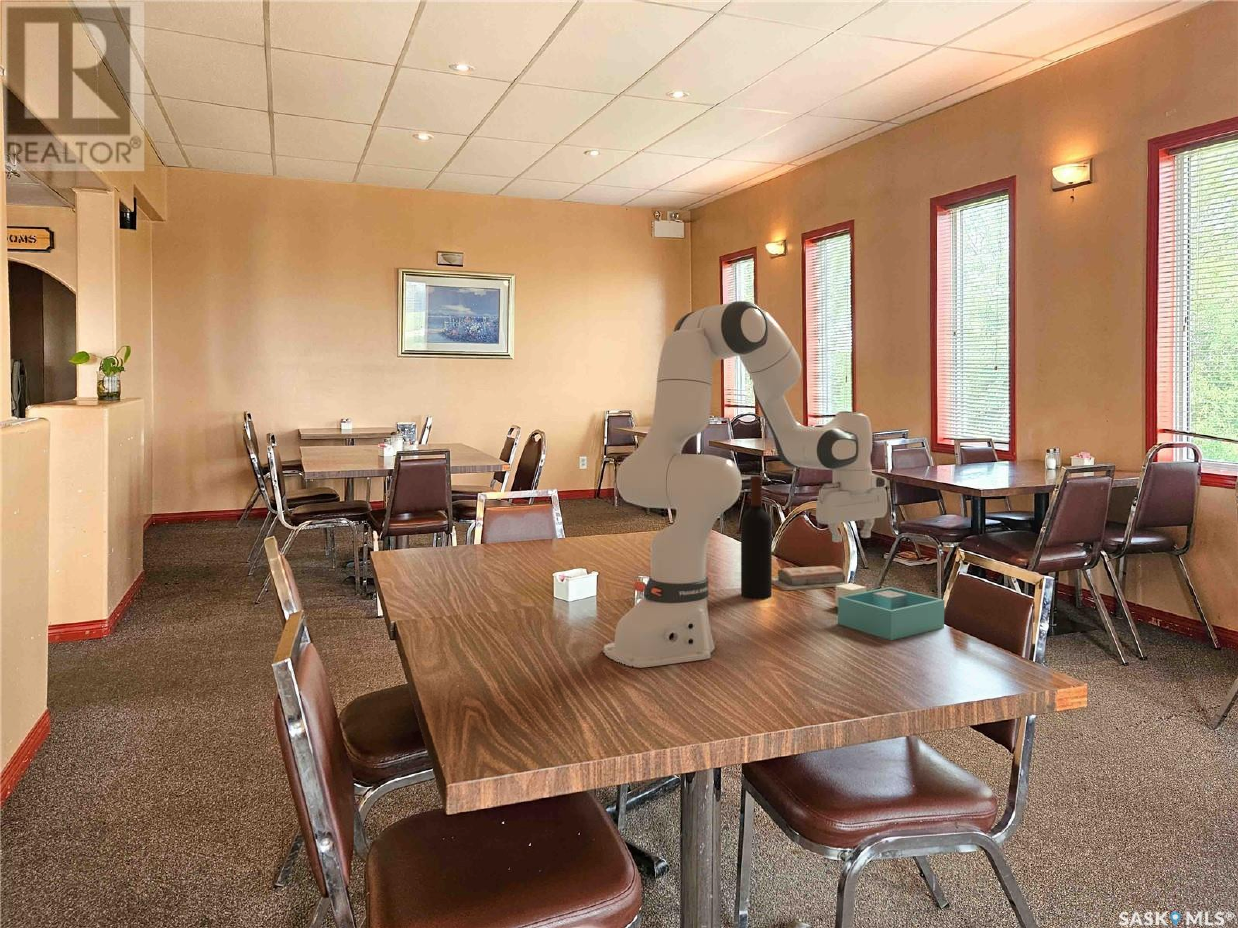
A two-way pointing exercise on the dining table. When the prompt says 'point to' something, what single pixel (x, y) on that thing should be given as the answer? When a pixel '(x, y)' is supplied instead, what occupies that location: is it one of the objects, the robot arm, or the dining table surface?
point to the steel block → (889, 600)
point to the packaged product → (809, 577)
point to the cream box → (848, 590)
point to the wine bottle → (756, 547)
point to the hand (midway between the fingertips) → (851, 539)
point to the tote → (891, 614)
